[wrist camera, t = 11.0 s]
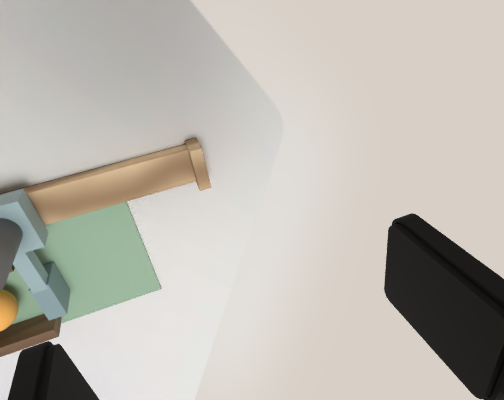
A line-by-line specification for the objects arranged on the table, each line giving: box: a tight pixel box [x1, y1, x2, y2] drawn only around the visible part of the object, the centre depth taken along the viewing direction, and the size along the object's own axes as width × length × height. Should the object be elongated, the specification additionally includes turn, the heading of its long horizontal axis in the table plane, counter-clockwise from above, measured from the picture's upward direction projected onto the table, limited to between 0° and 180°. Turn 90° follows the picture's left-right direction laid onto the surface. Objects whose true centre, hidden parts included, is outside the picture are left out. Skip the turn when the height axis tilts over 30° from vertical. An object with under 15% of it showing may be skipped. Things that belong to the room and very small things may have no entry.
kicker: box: [0, 189, 70, 320], centre depth 33 cm, size 14×5×10 cm, turn 9°
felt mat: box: [3, 202, 161, 325], centre depth 39 cm, size 13×20×1 cm, turn 99°
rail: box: [0, 138, 211, 225], centre depth 35 cm, size 4×23×3 cm, turn 99°
